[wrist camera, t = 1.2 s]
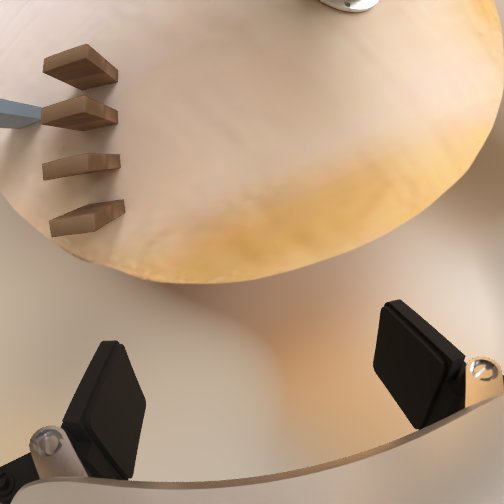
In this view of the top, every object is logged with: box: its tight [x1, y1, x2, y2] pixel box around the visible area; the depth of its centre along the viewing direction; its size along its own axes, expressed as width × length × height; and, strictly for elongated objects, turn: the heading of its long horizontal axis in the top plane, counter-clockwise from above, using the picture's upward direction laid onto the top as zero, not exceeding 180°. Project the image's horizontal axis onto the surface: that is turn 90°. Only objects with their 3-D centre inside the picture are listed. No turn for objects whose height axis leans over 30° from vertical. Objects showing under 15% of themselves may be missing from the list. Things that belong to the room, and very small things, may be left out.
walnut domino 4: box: [49, 199, 125, 237], centre depth 28 cm, size 2×5×10 cm, turn 93°
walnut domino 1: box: [43, 44, 118, 90], centre depth 23 cm, size 2×5×10 cm, turn 93°
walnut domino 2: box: [41, 95, 118, 131], centre depth 25 cm, size 2×5×10 cm, turn 93°
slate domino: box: [0, 99, 41, 129], centre depth 23 cm, size 2×5×10 cm, turn 93°
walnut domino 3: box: [42, 154, 121, 180], centre depth 27 cm, size 2×5×10 cm, turn 93°
